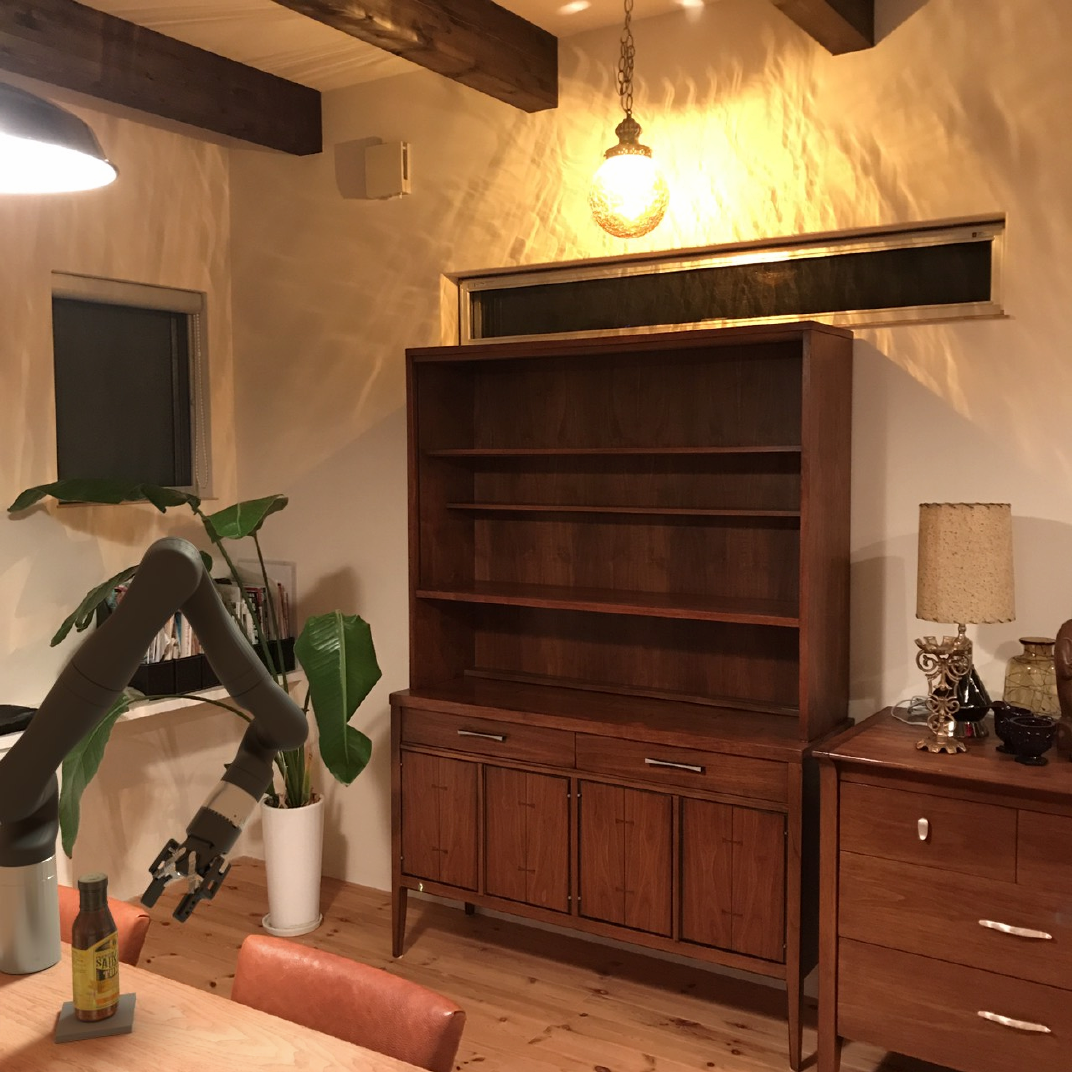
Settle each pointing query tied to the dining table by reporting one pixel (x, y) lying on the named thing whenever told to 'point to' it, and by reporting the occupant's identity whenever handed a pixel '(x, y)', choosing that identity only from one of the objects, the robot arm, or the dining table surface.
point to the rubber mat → (96, 1022)
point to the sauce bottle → (94, 952)
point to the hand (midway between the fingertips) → (161, 912)
